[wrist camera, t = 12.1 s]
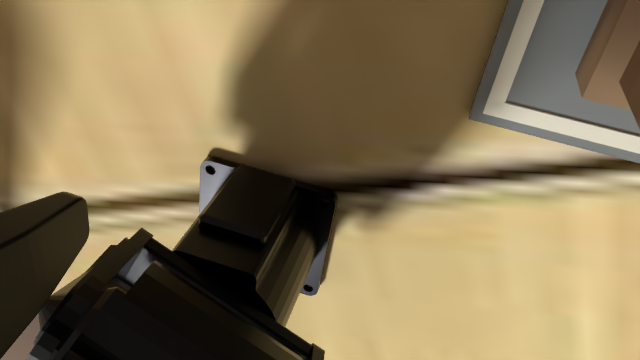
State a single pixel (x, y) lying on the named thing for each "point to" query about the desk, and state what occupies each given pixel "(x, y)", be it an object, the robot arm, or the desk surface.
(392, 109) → the desk surface
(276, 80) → the desk surface
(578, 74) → the stamp
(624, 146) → the marked board
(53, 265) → the robot arm
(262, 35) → the desk surface
